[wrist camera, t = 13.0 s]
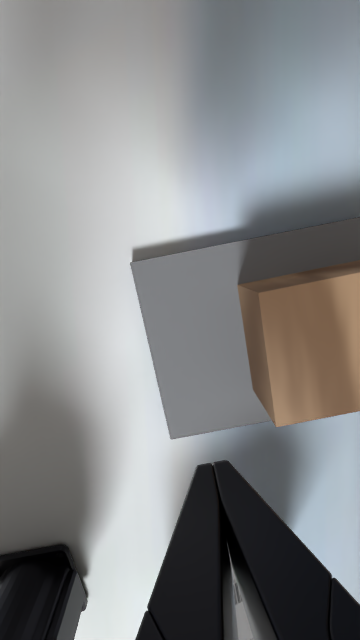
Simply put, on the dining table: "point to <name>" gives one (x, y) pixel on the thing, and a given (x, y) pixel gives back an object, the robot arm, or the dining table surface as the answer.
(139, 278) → the rubber mat
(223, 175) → the dining table surface
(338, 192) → the dining table surface
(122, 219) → the dining table surface
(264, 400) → the cream panel wooden box
